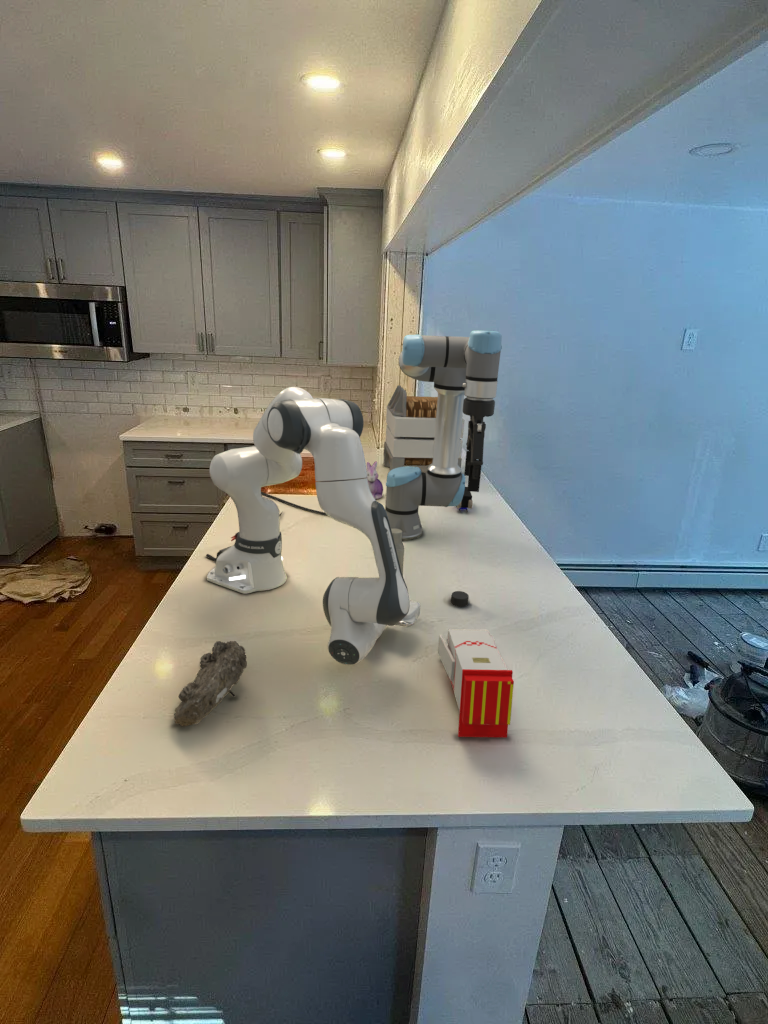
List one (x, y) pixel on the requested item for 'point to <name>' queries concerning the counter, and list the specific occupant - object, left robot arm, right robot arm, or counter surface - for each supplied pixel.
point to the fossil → (211, 682)
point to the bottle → (399, 546)
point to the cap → (459, 599)
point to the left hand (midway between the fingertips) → (388, 592)
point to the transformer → (411, 430)
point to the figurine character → (466, 501)
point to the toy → (478, 682)
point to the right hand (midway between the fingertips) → (471, 483)
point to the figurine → (374, 481)
